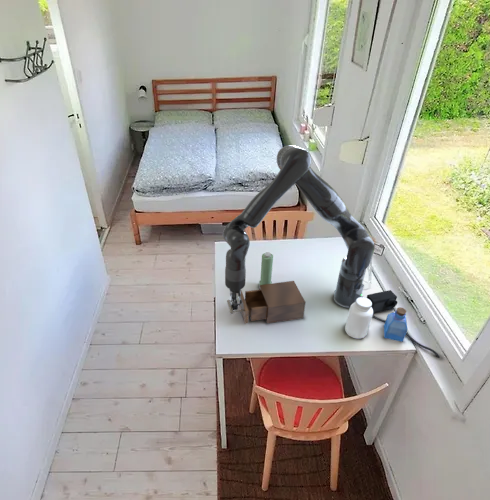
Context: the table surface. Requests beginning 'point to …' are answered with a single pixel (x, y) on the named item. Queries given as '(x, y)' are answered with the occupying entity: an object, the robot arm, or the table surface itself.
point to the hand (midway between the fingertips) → (234, 308)
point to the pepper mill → (266, 268)
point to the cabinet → (283, 301)
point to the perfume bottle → (396, 325)
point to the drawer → (251, 306)
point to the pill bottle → (359, 318)
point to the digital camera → (382, 301)
